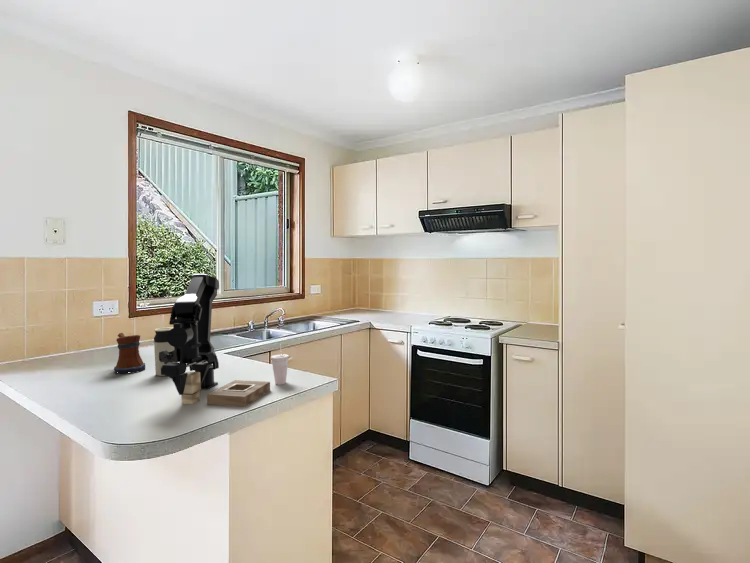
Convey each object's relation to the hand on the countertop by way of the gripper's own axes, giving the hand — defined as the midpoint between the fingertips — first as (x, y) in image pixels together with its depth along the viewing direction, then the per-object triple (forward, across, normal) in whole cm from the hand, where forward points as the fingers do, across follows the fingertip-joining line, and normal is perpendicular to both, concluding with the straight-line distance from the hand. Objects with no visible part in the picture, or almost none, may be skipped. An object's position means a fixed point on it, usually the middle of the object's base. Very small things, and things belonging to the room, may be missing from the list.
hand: (190, 390), depth 135 cm
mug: (+4, -33, -54) cm, 63 cm away
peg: (+4, 0, 0) cm, 4 cm away
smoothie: (+4, -24, +19) cm, 31 cm away
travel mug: (+4, -29, -32) cm, 43 cm away
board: (+4, -7, +13) cm, 15 cm away
